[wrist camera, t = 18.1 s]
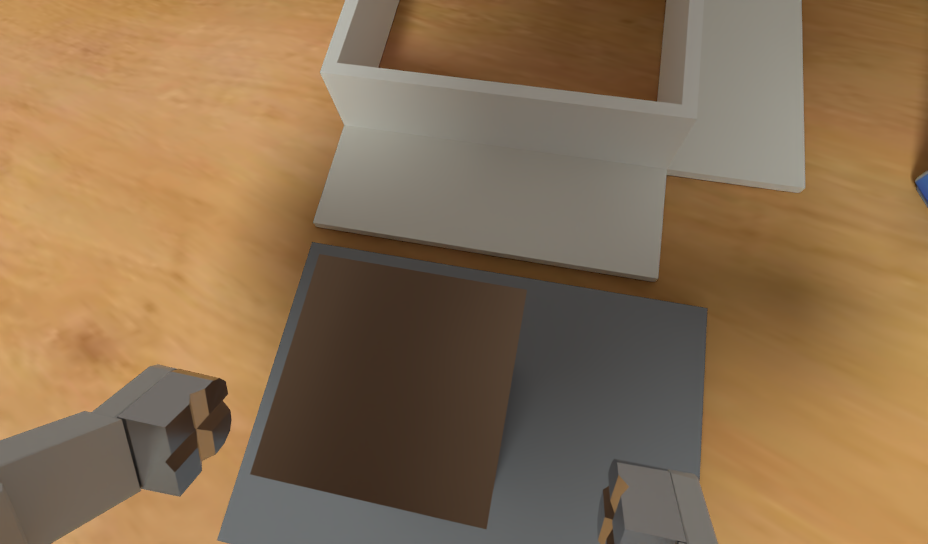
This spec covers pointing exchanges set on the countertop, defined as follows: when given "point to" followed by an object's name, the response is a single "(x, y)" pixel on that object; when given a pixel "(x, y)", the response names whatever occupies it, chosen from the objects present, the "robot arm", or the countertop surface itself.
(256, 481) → the mat
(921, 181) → the medicine box
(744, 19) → the rectangular frame
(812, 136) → the countertop surface
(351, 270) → the walnut block
